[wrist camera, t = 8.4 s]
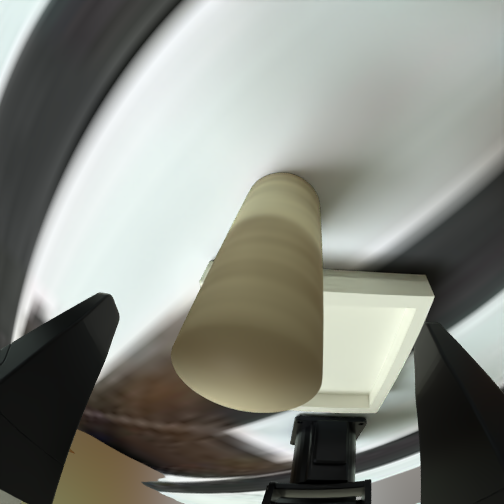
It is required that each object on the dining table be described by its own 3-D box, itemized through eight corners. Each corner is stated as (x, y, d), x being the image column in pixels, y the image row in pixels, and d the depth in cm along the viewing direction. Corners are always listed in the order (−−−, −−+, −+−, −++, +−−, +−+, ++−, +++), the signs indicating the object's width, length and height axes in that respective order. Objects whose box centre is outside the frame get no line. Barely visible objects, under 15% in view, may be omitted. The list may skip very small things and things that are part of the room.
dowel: (317, 242, 14) (312, 417, 7) (247, 238, 15) (187, 401, 7) (321, 174, 13) (333, 332, 5) (244, 171, 13) (155, 313, 6)
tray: (375, 393, 20) (376, 413, 19) (228, 383, 22) (223, 401, 21) (425, 275, 14) (434, 296, 13) (209, 261, 16) (199, 281, 15)
